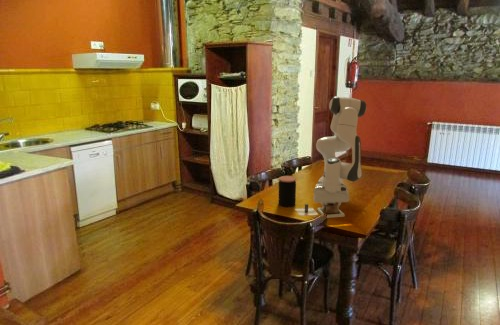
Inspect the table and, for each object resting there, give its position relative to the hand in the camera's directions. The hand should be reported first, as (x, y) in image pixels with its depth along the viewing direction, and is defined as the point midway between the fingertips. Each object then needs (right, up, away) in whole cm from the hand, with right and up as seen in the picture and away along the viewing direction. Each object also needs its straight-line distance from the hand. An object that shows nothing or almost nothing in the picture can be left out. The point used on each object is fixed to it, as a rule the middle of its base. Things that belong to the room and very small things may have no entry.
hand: (330, 209), depth 206 cm
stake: (-14, -3, +3) cm, 14 cm away
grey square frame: (0, -3, +1) cm, 4 cm away
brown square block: (0, -1, 0) cm, 1 cm away
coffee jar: (-24, 0, +16) cm, 29 cm away
